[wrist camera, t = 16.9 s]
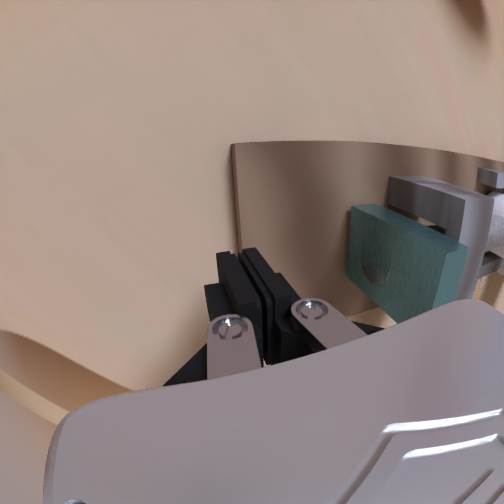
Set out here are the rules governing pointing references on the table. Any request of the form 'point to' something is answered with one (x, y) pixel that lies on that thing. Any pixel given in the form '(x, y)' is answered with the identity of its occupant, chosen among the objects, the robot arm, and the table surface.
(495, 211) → the can
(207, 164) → the table surface
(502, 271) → the milk carton
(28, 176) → the table surface
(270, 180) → the base plate with brackets
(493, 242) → the shaft
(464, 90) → the table surface
